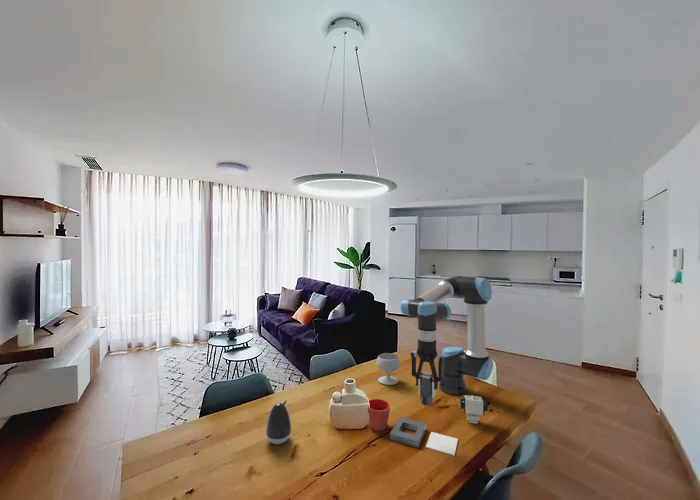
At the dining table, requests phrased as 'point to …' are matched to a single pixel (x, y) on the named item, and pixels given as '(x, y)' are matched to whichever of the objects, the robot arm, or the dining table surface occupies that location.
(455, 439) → the pad
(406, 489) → the dining table surface
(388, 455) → the dining table surface
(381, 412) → the flower pot
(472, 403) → the pneumatic valve
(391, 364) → the chalice
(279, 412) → the dark grey tapered piece
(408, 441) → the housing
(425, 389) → the metal cylinder
